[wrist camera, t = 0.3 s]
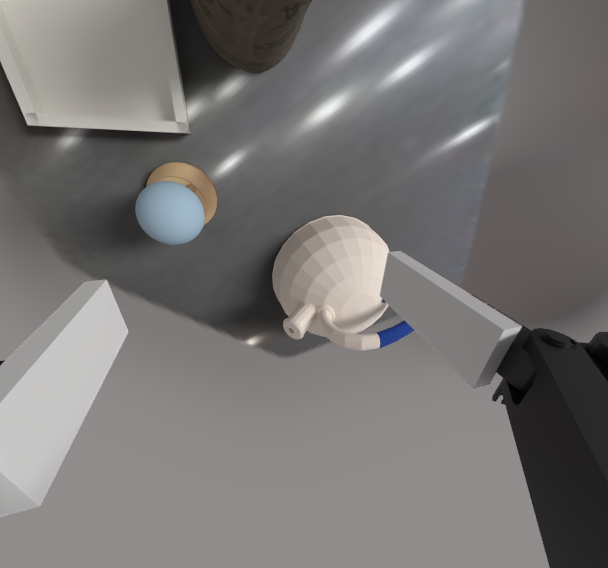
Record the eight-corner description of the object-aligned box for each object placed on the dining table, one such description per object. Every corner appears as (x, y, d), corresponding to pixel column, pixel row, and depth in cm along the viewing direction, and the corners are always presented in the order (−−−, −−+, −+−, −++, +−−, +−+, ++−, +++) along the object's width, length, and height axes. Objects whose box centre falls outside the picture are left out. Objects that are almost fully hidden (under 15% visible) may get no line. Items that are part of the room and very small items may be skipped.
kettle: (256, 230, 37) (279, 295, 22) (384, 202, 40) (481, 241, 25) (281, 332, 47) (308, 422, 32) (380, 303, 51) (446, 372, 36)
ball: (137, 176, 25) (115, 186, 20) (201, 177, 26) (196, 186, 21) (153, 234, 28) (137, 255, 23) (210, 232, 29) (207, 251, 24)
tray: (-49, -99, 18) (-80, -125, 17) (161, -53, 22) (155, -70, 20) (41, 126, 25) (27, 125, 23) (190, 133, 29) (188, 133, 27)
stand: (133, 197, 30) (113, 210, 25) (174, 146, 29) (162, 147, 23) (191, 239, 35) (185, 258, 29) (229, 196, 33) (230, 207, 28)
